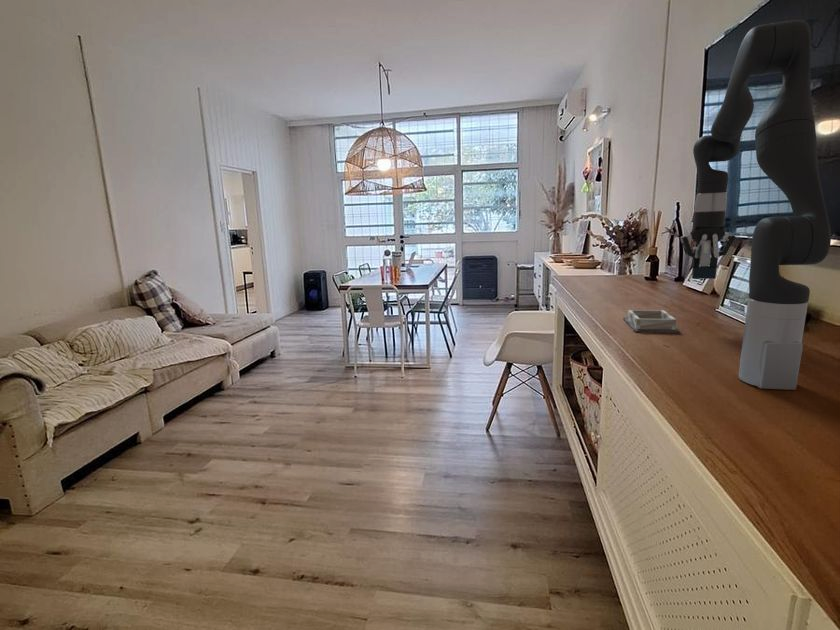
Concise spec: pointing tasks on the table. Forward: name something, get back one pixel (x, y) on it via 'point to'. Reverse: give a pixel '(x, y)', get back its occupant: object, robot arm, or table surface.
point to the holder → (651, 321)
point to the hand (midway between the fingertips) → (703, 270)
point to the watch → (704, 264)
